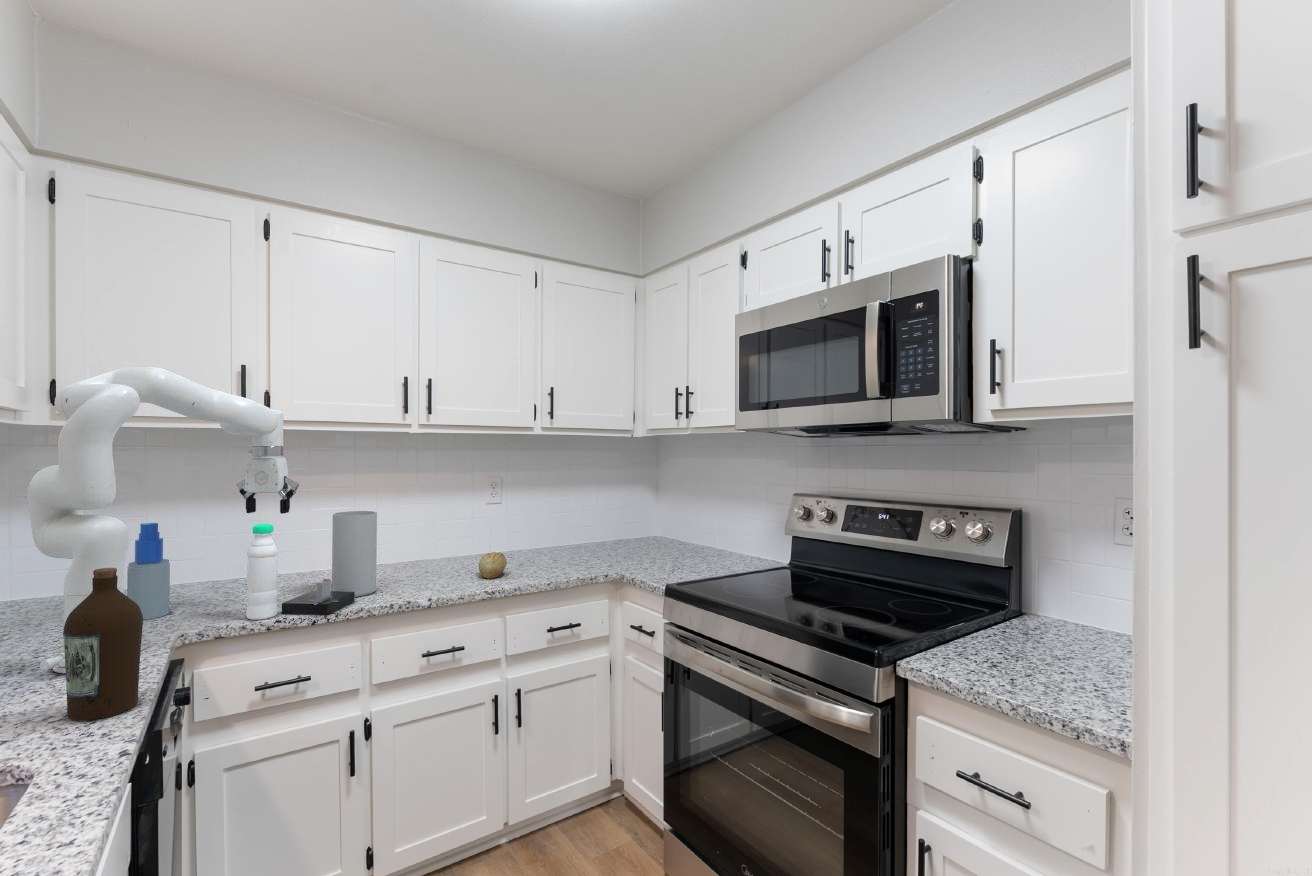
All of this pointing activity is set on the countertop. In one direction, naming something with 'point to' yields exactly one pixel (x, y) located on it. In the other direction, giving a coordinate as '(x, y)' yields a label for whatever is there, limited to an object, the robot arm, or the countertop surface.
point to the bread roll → (492, 565)
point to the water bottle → (262, 574)
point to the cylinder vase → (354, 552)
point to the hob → (310, 607)
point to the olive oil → (102, 651)
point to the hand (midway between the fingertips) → (267, 512)
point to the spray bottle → (149, 574)
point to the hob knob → (323, 591)
